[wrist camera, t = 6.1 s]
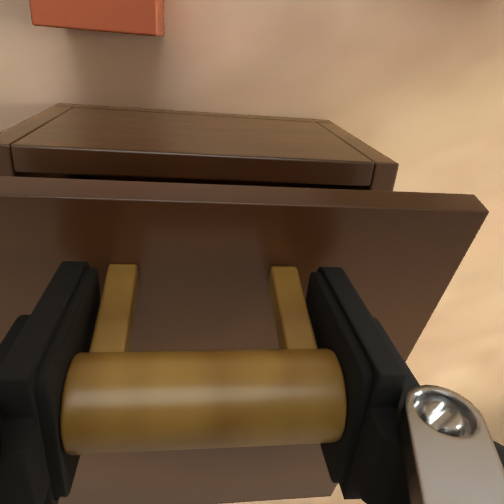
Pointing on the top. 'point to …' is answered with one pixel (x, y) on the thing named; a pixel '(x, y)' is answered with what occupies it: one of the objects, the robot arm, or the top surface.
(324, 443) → the robot arm
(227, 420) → the lid
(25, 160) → the brown open box
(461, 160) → the top surface
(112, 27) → the block
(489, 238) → the top surface
